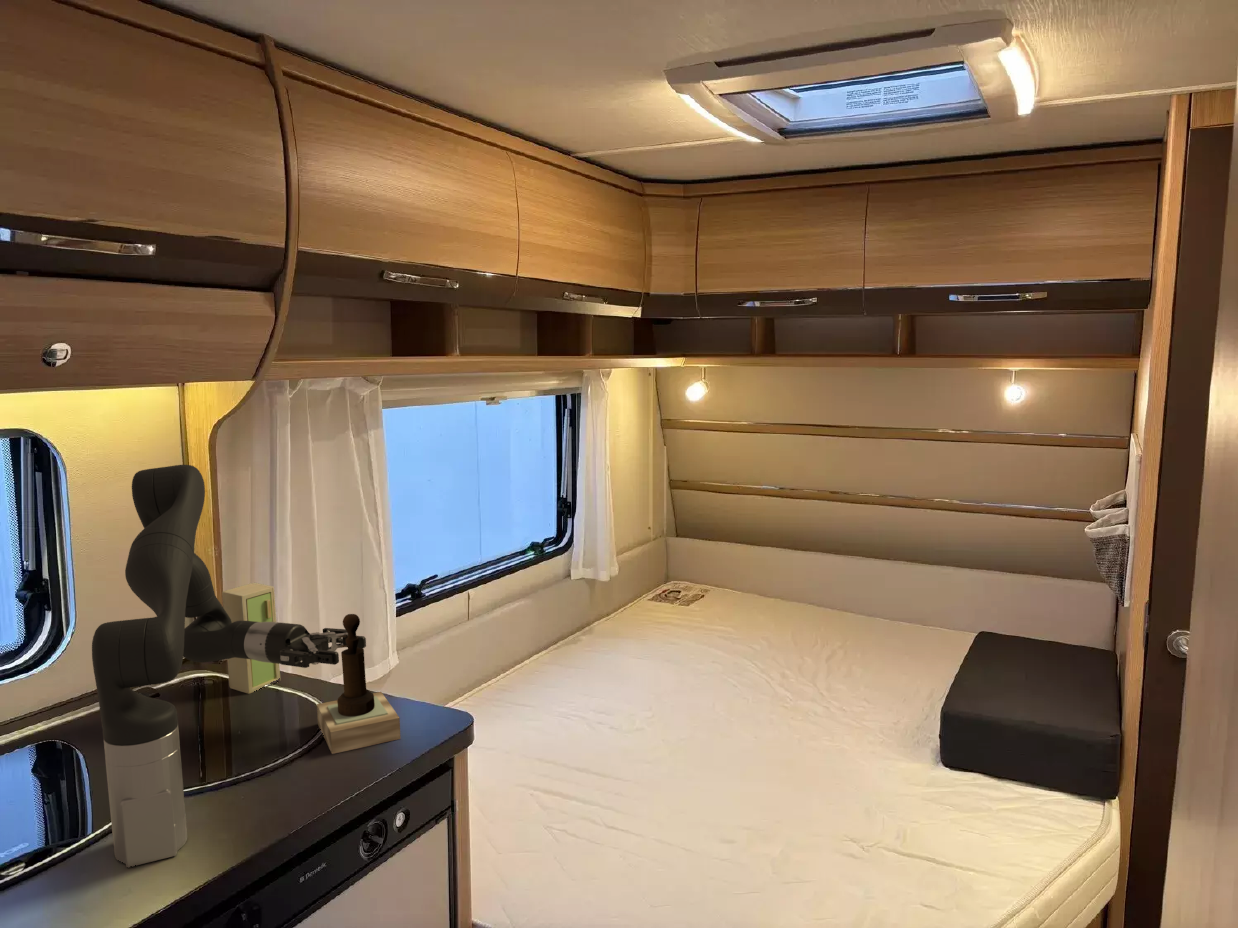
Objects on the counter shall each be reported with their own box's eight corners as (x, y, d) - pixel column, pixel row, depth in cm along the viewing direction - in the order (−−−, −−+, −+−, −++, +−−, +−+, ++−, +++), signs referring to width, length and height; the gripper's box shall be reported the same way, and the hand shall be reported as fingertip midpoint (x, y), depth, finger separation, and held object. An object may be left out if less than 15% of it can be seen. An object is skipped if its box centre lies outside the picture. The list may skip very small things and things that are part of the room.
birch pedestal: (400, 738, 159) (399, 716, 158) (332, 753, 153) (330, 730, 153) (382, 711, 171) (381, 690, 170) (317, 724, 165) (316, 702, 165)
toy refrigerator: (250, 695, 180) (243, 595, 177) (228, 688, 184) (220, 590, 181) (283, 682, 187) (276, 586, 184) (261, 676, 190) (254, 581, 188)
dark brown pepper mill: (331, 709, 162) (325, 614, 159) (363, 699, 166) (358, 606, 164) (349, 719, 157) (343, 622, 155) (381, 708, 161) (376, 614, 159)
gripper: (249, 635, 158) (326, 643, 153) (299, 612, 171) (372, 618, 166) (252, 675, 159) (329, 684, 154) (301, 649, 172) (374, 656, 167)
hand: (351, 650), depth 160 cm, fingers open, 8 cm apart
